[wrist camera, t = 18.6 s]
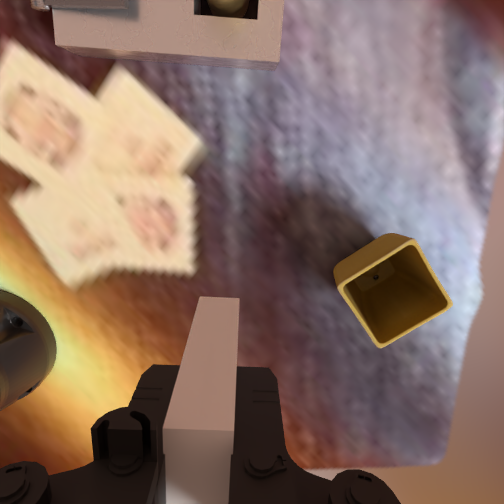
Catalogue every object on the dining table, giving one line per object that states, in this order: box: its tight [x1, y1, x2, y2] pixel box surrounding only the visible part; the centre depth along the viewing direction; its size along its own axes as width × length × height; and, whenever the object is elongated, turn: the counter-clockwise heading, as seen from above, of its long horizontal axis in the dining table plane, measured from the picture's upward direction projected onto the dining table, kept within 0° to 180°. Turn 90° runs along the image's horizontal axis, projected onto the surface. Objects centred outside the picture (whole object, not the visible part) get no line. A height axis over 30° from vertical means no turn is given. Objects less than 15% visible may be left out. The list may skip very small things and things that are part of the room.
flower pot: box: [333, 233, 453, 348], centre depth 41 cm, size 9×9×9 cm
